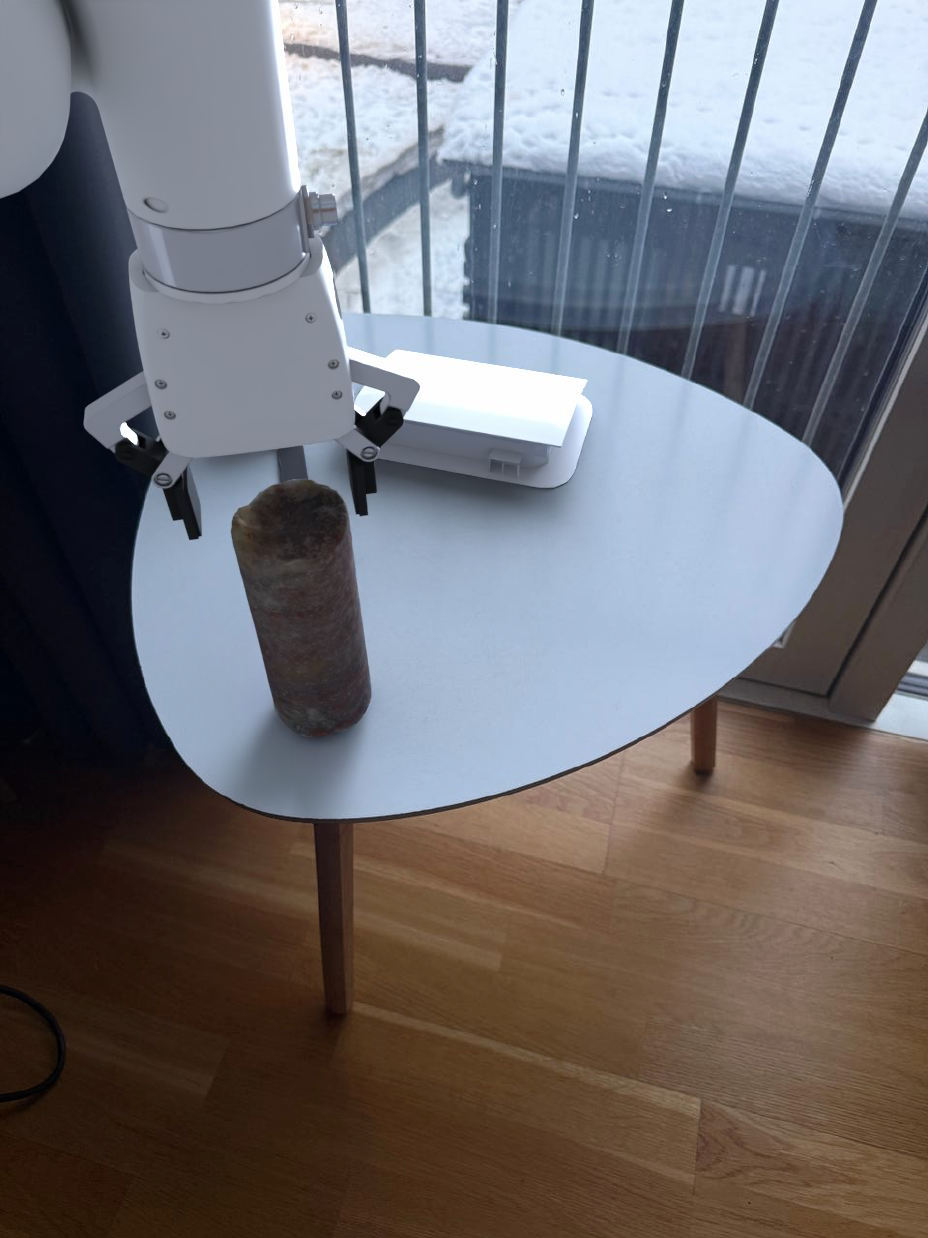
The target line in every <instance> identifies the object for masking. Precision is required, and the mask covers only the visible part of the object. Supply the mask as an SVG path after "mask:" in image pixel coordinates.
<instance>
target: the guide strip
mask: <svg viewBox="0 0 928 1238" xmlns="http://www.w3.org/2000/svg"><path fill="white" fill-rule="evenodd" d="M277 450H278V457H279V458H278V459H279V466H280V472H281V473H280V474H281V481H282V483H283V482H286V481H289V480H293V479H295V480H297V479H308V480H309V475H308V474H309V473H308V469H307V468H308V467H307V461H306V455H305V448H304V445H301V446H294V447H287V448H279V449H277Z"/></svg>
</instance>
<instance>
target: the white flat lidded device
mask: <svg viewBox="0 0 928 1238" xmlns="http://www.w3.org/2000/svg"><path fill="white" fill-rule="evenodd" d="M385 359H387V360H390V361H393V362H396V363H399V364H402V365H405V366H408V367H411V368H413V369H414V370H415V371H416V374H417V377H418V380H419V383H420V390H419V392H418V394H417V396H416V398H415V399H414V401H413V403H412V405H411V407H410V409H409V411H407V412H406V414H405V416H404V423H403V425H402V427H401V428H400V429H399V430H398V431H397V432H396V433H395V434H394V435H393V436H392V437H391V438H390V439H389V440H388V441H386V442H385V443H384V444H383V445H382V446H381V447H380V448H379V450H380V455H379V457H378V458H377V459H379V460H385V461H389V462H395V463H401V464H406V465H412V466H417V467H421V468H422V467H423V468H428V469H435V470H439V471H444V472H450V473H456V474H462V475H466V476H473V477H478V478H483V479H489V480H494V481H499V482H504V483H510V484H516V485H520V486H526V487H531V488H532V487H533V488H536V489H537V488H538V489H555V488H558V487H560V486H562V485H564V484H566V483H568V482H569V481H570V479H571V478H572V476H573V475H574V474H575V472H576V468H577V465H578V462H579V459H580V456H581V452H582V449H583V446H584V442H585V439H586V436H587V433H588V430H589V428H590V427H589V426H590V424H591V421H592V417H593V404H592V403H591V401H589V399H588V398H587V397H586V396H584V395H583V394H582V393H583V390H584V388H585V387H586V385H587V383H588V379H583V378H577V377H571V376H566V375H565V376H564V375H558V374H552V373H546V372H540V371H534V370H527V369H520V368H515V367H508V366H501V365H496V364H491V363H490V364H489V363H484V362H483V363H482V362H476V361H471V360H464V359H459V358H452V357H445V356H440V355H439V356H438V355H433V354H426V353H421V352H416V351H415V352H414V351H407V350H402V349H395V350H394V351H392V352H391V353H390V354H388V356H386V357H385ZM384 395H385V392H384V391H381V390H377V389H374V388H371V387H368V386H364V385H363V387H362V388H361V390H360V391H359V393H358V394H357V396H356V397H355V398H354V404H355V406H357V407H358V408H359V409H361V410H362V411H363V412H364V413H367V412H368V411H369V410H370V409H371V408H372V407H373V406H374V405H375V404H376V403H377V402H378V401H379V400H380V399H381V398H382V397H384Z"/></svg>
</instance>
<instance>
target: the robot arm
mask: <svg viewBox="0 0 928 1238" xmlns="http://www.w3.org/2000/svg"><path fill="white" fill-rule="evenodd" d="M284 49H285V48H284V41H283V33H282V26H281V18H280V10H279V1H278V0H0V199H2V198H5V197H8V196H11V195H14V194H16V193H19V192H21V191H22V190H23V189H25V188H27V187H28V186H29V185H31V184H32V183H34V182H35V181H36V180H38V179H39V178H40V177H41V176H42V175H43V174H44V172H45V171H46V170H47V169H48V168H49V167H50V165H51V164H52V163H53V162H54V160H55V158H56V156H57V155H58V153H59V152H60V149H61V146H62V144H63V142H64V139H65V135H66V131H67V127H68V122H69V117H70V109H71V94H73V93H77V92H78V93H83V94H86V95H87V96H89V97H90V98H91V99H92V100H93V101H94V103H95V104H96V106H97V109H98V112H99V116H100V119H101V123H102V126H103V127H102V128H103V129H104V133H105V138H106V141H107V145H108V148H109V152H110V155H111V159H112V162H113V166H114V170H115V173H116V177H117V181H118V184H119V187H120V192H121V195H122V199H123V201H124V205H125V209H126V213H127V216H128V219H129V223H130V226H131V230H132V234H133V239H134V240H135V244H136V249H135V250H133V252H132V253H131V254H130V256H129V259H128V280H129V291H130V301H131V307H132V314H133V321H134V327H135V334H136V340H137V346H138V350H139V356H140V361H141V364H142V369H143V370H142V371H141V372H139V373H137V374H136V375H134V376H133V377H131V378H130V379H127V380H126V381H125V382H123V383H121V384H120V385H117V387H115V388H114V389H112V390H111V391H109V392H107V393H105V394H104V395H102V396H100V397H99V398H97V399H96V400H94V401H93V402H91V403H90V404H88V405H87V406H86V407H85V408H84V416H83V417H84V418H83V427H84V429H85V430H86V432H87V433H88V434H89V435H91V436H92V437H93V438H94V439H95V440H97V441H98V442H99V443H100V444H101V445H102V446H103V447H104V448H106V449H107V450H108V449H109V450H110V451H111V452H112V453H113V454H114V457H115V459H116V460H117V461H118V462H119V463H121V464H122V465H125V466H127V467H129V468H131V469H133V470H135V471H137V472H138V473H141V474H143V475H145V476H147V477H149V478H151V482H152V485H154V487H156V488H159V489H162V492H163V495H164V498H165V502H166V504H167V507H168V511H169V513H170V516H171V520H172V522H176V521H183V525H184V528H185V531H186V534H187V538H188V540H189V541H194V540H199V539H200V537H202V536H203V526H202V525H203V524H202V505H201V499H200V496H199V493H198V490H197V486H196V482H195V479H194V475H193V472H192V468H191V465H190V463H191V462H192V460H193V459H201V458H213V457H220V456H221V457H222V456H232V455H238V454H239V455H240V454H247V453H256V452H263V451H272V450H278V449H279V448H287V447H294V446H301V445H303V446H308V445H314V444H320V443H327V442H330V441H331V442H332V441H334V442H336V443H338V444H339V445H340V446H342V447H343V448H344V449H345V454H346V462H347V463H346V464H347V471H348V473H347V474H348V480H349V487H350V492H351V497H352V502H353V507H354V512H355V515H358V516H359V517H365V516H369V509H368V507H369V506H368V497H367V495H373V494H377V493H378V488H377V487H378V486H377V477H376V475H377V474H376V464H375V461H376V460H377V459H378V457H379V455H380V450H379V448H380V447H381V446H382V445H383V444H384V443H385V442H386V441H388V440H389V439H390V438H391V437H392V436H393V435H394V434H395V433H396V432H397V431H398V430H399V429H400V428H401V427H402V425H403V423H404V416H405V414H406V412H407V411H409V409H410V407H411V405H412V403H413V401H414V399H415V398H416V396H417V394H418V392H419V390H420V383H419V380H418V377H417V374H416V371H415V370H414V369H413V368H411V367H408V366H405V365H402V364H399V363H396V362H393V361H390V360H387V359H386V358H384V357H380V356H378V355H374V354H371V353H368V352H365V351H362V350H359V349H355V348H353V347H349V346H348V344H347V338H346V332H345V327H344V326H345V325H344V322H343V321H344V320H343V316H342V315H343V314H342V309H341V304H340V299H339V294H338V290H337V285H336V281H335V277H334V273H333V270H332V266H331V263H330V259H329V257H328V254H327V250H326V247H325V246H324V242H323V240H322V238H321V237H320V236H319V235H318V234H316V233H315V231H316V232H317V231H323V227H331V226H338V225H339V217H338V209H337V201H336V196H335V193H324V194H318V191H310V192H309V188H308V185H307V184H302V185H301V174H300V168H299V162H298V161H299V160H298V152H297V151H298V149H297V143H296V135H295V127H294V121H293V120H294V118H293V113H292V112H293V111H292V105H291V97H290V89H289V81H288V73H287V72H288V71H287V65H286V57H285V50H284ZM353 383H355V384H358V385H361V386H363V387H364V386H368V387H371V388H374V389H377V390H381V391H384V392H385V395H384V397H382V398H381V399H380V400H379V401H378V402H377V403H376V404H375V405H374V406H373V407H372V408H371V409H370V410H369V411H368V412H367V413H364V412H363V411H362V410H361V409H359V408H358V407H357V406H355V404H354V401H355V393H354V385H353ZM149 408H151V409H152V413H153V417H154V420H155V424H156V427H157V431H158V435H157V437H156V438H155V439H154V438H152V437H151V436H148V435H146V434H144V433H143V432H141V431H138V430H137V429H135V428H132V427H129V426H128V425H127V422H129V421H130V420H132V419H133V418H135V417H137V416H138V415H139V414H142V413H143V412H144V411H146V410H148V409H149Z"/></svg>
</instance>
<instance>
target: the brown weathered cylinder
mask: <svg viewBox="0 0 928 1238" xmlns="http://www.w3.org/2000/svg"><path fill="white" fill-rule="evenodd" d="M348 509H349V508H348V506H347V503H346V501H345V499H344V498H343V496H341V495H340V493H339V492H338V490H336V489H335V488H332V487H330V486H329V485H327V484H324V483H320V482H318V481H316V480H314V479H309V478H308V479H297V480H295V479H293V480H289V481H286V482H283V481H282V482H278V483H274V484H272V485H270V486H268V487H266V488H265V489H263V490H261V491H259V493H258V494H257V495H256V496H255V497H254V498H253V500H251V502H249V504H247V505H244V506H239V507H238V508H237V510H236V511H235V512H234V514H233V516H232V519H231V526H230V536H231V541H232V546H233V550H234V553H235V554H234V555H235V558H236V561H237V566H238V569H239V573H240V577H241V580H242V583H243V588H244V592H245V596H246V600H247V604H248V607H249V611H250V615H251V618H252V622H253V626H254V629H255V633H256V638H257V641H258V645H259V650H260V654H261V659H262V661H263V666H264V669H265V670H264V671H265V674H266V678H267V682H268V683H267V684H268V686H269V690H270V694H271V698H272V702H273V707H274V709H275V712H276V713H277V715H278V716H279V717H278V718H280V719H281V721H282V722H283V723H284V725H286V726H287V727H288V728H290V729H291V730H292V731H293V732H295V733H297V734H298V735H301V736H303V737H307V738H309V737H312V738H323V737H327V736H330V735H334V734H335V735H336V734H338V733H341V732H344V731H345V730H349V729H350V728H352V727H353V726H355V725H357V724H358V723H359V721H360V720H361V719H362V718H363V716H364V715H365V714H366V712H367V710H368V709H369V706H370V704H371V700H372V682H371V674H370V673H371V671H370V665H369V659H368V658H369V657H368V650H367V644H366V637H365V636H366V635H365V629H364V622H363V616H362V607H361V600H360V594H359V593H360V591H359V586H358V578H357V568H356V560H355V554H354V546H353V535H352V529H351V521H350V512H349V510H348Z"/></svg>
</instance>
